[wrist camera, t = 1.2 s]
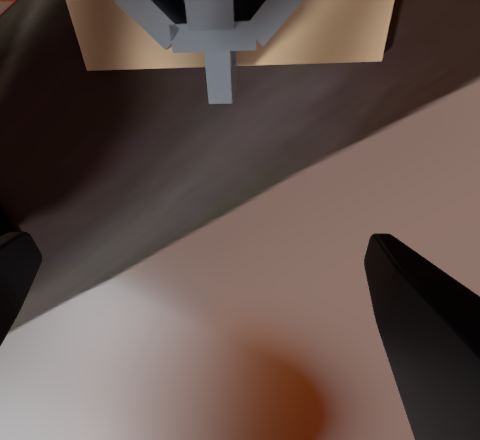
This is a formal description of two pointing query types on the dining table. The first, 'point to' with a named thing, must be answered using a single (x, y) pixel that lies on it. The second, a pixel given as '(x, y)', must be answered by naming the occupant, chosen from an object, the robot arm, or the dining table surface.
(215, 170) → the dining table surface
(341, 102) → the dining table surface
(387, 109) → the dining table surface
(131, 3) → the grey faceted open cylinder
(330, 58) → the board
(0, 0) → the cracker box
